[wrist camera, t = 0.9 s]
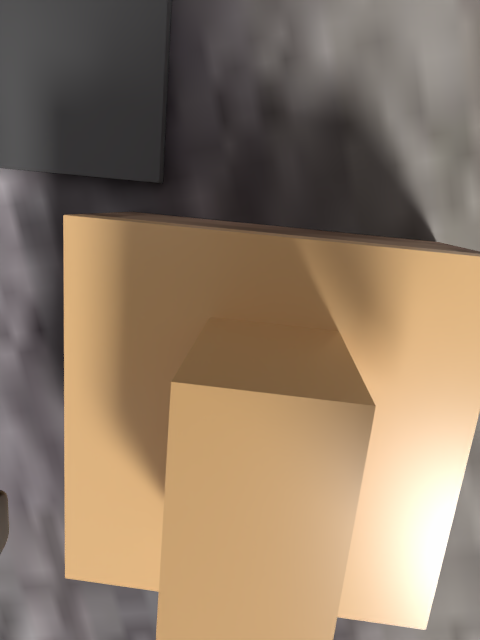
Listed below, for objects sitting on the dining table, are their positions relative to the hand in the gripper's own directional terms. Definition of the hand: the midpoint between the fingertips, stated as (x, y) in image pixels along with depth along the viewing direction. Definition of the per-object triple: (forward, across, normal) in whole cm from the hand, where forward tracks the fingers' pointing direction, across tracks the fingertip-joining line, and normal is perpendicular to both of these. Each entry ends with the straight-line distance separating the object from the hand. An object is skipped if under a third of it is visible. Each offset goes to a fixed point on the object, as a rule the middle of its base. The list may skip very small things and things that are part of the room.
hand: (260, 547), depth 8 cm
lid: (+6, 0, 0) cm, 6 cm away
